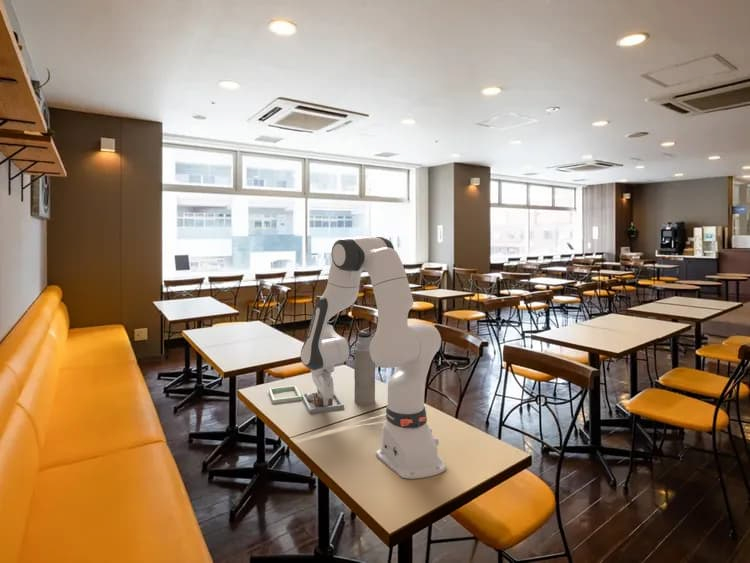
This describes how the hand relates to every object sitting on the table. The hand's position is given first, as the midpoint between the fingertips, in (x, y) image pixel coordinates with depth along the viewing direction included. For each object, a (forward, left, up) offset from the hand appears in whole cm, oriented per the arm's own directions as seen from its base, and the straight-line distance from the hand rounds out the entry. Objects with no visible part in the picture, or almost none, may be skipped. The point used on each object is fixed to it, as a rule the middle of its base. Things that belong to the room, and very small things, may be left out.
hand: (322, 401), depth 169 cm
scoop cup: (0, 0, -2) cm, 2 cm away
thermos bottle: (-3, -16, -2) cm, 16 cm away
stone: (0, 0, -1) cm, 1 cm away
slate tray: (+1, 0, -2) cm, 3 cm away
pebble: (+6, +4, -2) cm, 7 cm away
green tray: (+13, +12, -2) cm, 19 cm away
